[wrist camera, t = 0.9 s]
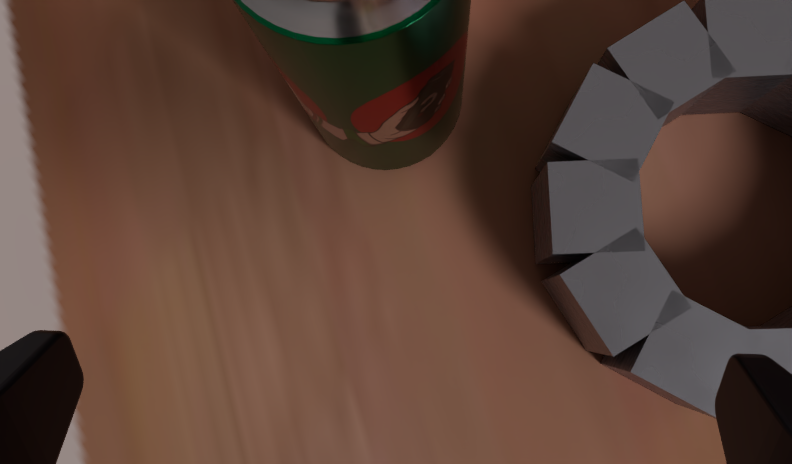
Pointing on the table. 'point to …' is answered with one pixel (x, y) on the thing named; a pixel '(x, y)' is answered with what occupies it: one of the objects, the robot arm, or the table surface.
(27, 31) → the table surface
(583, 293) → the ring
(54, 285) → the table surface
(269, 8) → the soda can
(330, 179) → the table surface
